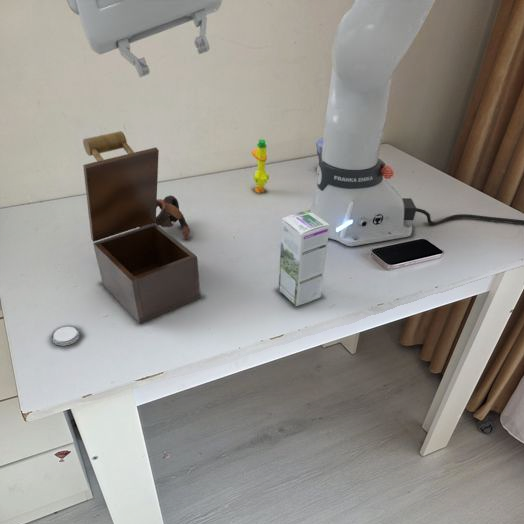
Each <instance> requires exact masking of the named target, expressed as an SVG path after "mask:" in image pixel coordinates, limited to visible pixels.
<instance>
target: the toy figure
mask: <svg viewBox="0 0 524 524" xmlns="http://www.w3.org/2000/svg"><path fill="white" fill-rule="evenodd" d="M266 141H267V140H265V139H258V143H257V144H256V149H252V150H251V155H252V157H253V158H255V159H256V161H257V170H256V171H255V172H254V177H253V181H254V183H255V184H256V187H254V191H255V192H256V193H258V194H260V193H265V189H264V187H265V186H266V184H267V183H268V180H269V179H270V174H269V173H267V171H266V169H265V168H266V161H267V160H268V157H267V156H268V155H267V144H266Z"/></svg>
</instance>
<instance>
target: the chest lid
mask: <svg viewBox="0 0 524 524" xmlns="http://www.w3.org/2000/svg"><path fill="white" fill-rule="evenodd" d="M127 141H128V140H127V138H126V135H125V134H124V132H123V131H122V130H118V131H116V132H110V133H105V134H101V135H96V136H92V137H91V136H90V137H87V138H83V140H82V145H83V148H84V151H85V153H86V155H88V156H89V157H91V156H93V158H94V159H95V160H96V161H94V162H89V163H85V164H83V165H82V167H83V175H84V184H85V192H86V201H87V202H86V203H87V213H88V221H89V229H90V239H91V241H92V242H93V243H95V242H98V241H101V240H104V239H107V238H110V237H113V236H116V235H119V234H122V233H125V232H129V231H132V230H135V229H138V228H139V227H141V226H144V225H147V224H150V223H153V222H156V217H157V208H156V205H157V199H158V175H159V155H160V154H159V152H160V151H159V149H158V148H157V147H151V148H147V149H143V150H140V151H134V150H133V149H132V148H131V147H130V145H129V144H128V142H127ZM120 149H123V150H124V151H125V153H126V154H123V155H119V156H115V157H109V158H106V159H104V158H103V157H102V155H101V154H103V153H107V152H113V151H117V150H120Z"/></svg>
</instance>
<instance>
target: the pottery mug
mask: <svg viewBox="0 0 524 524" xmlns="http://www.w3.org/2000/svg"><path fill="white" fill-rule="evenodd" d="M158 207H159V209H160V212H159V214H158V215H156V222H153V223H156V224H157V225H158V226H160V227H161V228H171V227H174V223H176V222H179V226H180V228H181V229H182V231H181V234H182V235H183V236H184V240H186V241H187V240H188V239H189V238H190V235H191V230H190V228H189V225H188V223H187V221H186V219H185V217H184V214H183V213H182V211H181V210H180V205H179V200H178V199H177V197H175V196H174V195H167V196H165V197H164V198H163V199H161V198H157V205H156V209H157V208H158ZM153 223H150V224H153ZM150 224H147V225H150ZM147 225H144V226H147ZM144 226H141V227H144ZM141 227H138V228H141Z"/></svg>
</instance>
